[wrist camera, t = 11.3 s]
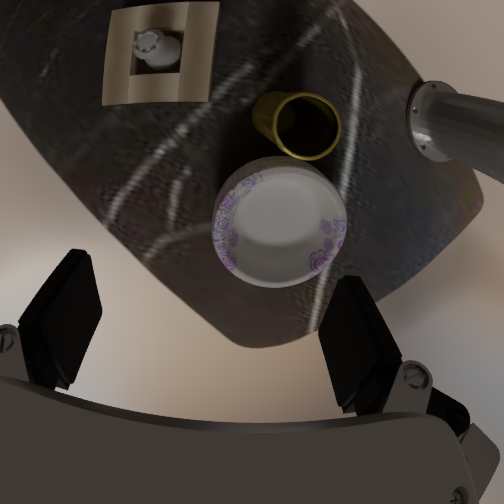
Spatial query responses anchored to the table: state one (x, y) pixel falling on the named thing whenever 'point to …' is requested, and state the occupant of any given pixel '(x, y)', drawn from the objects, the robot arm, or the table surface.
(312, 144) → the vase
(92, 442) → the robot arm
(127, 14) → the socket block
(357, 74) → the table surface
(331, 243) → the paper bowls
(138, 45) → the rook chess piece
